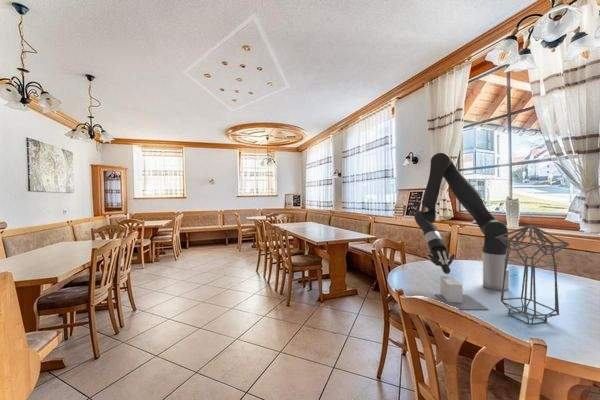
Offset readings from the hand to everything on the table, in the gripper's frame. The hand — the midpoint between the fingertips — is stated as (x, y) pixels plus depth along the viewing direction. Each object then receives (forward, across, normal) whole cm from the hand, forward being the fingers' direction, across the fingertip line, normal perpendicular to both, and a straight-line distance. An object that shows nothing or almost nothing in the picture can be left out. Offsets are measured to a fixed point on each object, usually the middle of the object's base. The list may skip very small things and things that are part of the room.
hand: (447, 273), depth 116 cm
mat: (+13, +1, +1) cm, 13 cm away
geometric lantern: (+23, +18, -9) cm, 31 cm away
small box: (+3, 0, +4) cm, 6 cm away
